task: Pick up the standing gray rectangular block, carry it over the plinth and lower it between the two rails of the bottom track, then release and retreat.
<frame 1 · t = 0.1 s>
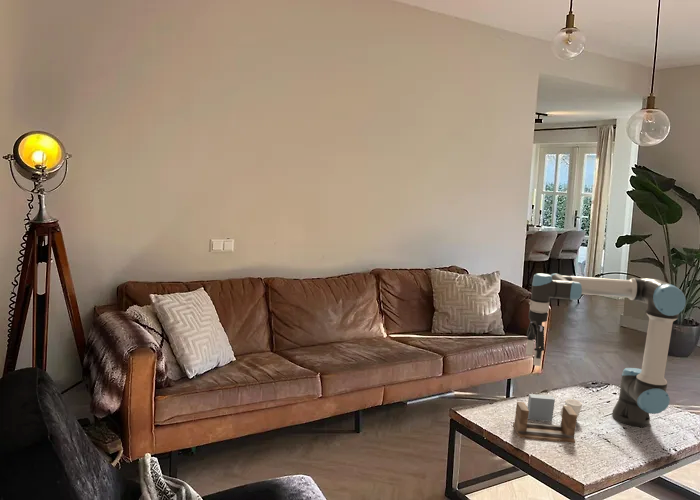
hand: (532, 359, 247), 28 cm above the table, fingers open, 13 cm apart
gray rectangular block: (539, 418, 256), on the table
cup: (568, 420, 256), on the table
cabinet base: (543, 433, 241), on the table
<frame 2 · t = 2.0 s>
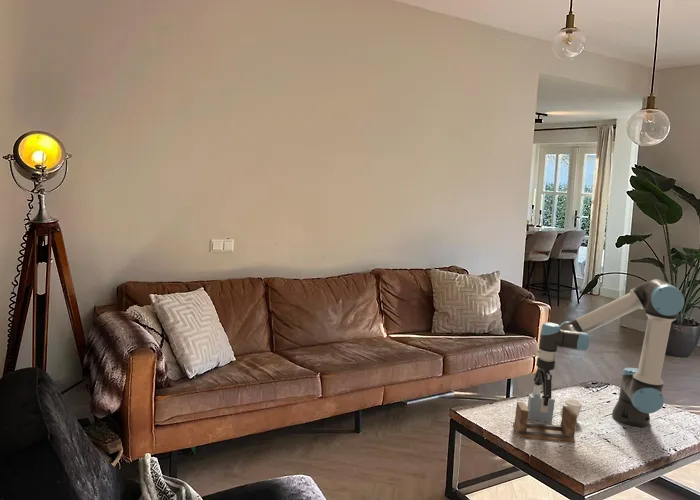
hand: (539, 405, 255), 6 cm above the table, fingers open, 13 cm apart
nothing on the table moved.
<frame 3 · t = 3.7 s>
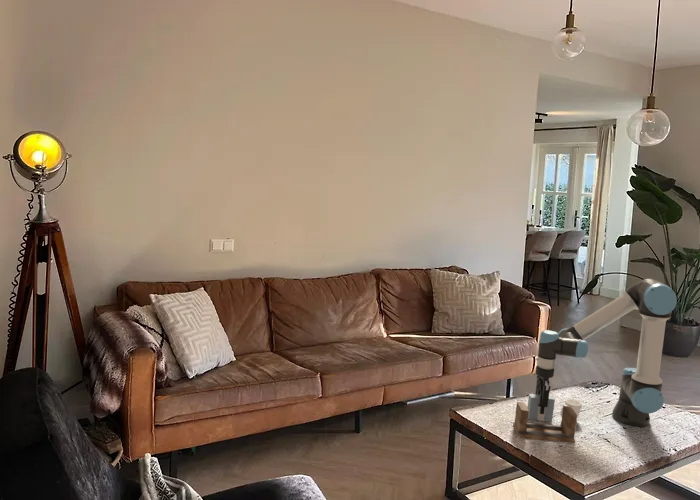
hand: (539, 417, 256), 0 cm above the table, fingers closed on gray rectangular block, 4 cm apart
gray rectangular block: (539, 418, 256), on the table, touching gripper
everything else where it was.
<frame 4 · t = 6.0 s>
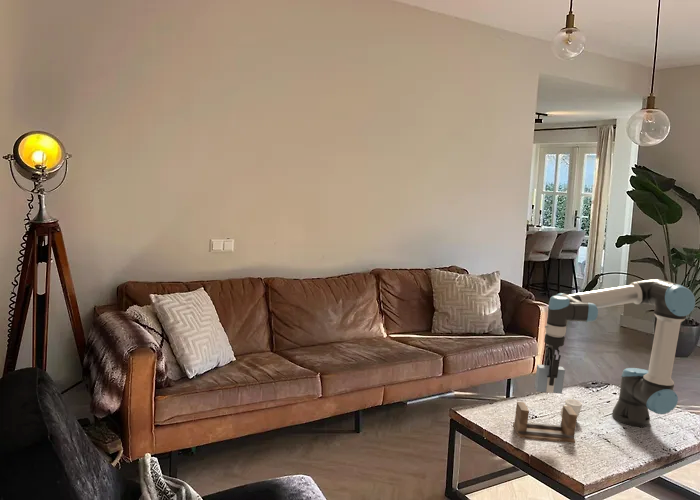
hand: (548, 389, 239), 19 cm above the table, fingers closed on gray rectangular block, 4 cm apart
gray rectangular block: (548, 390, 239), point 18 cm above the table, touching gripper
everything else where it was.
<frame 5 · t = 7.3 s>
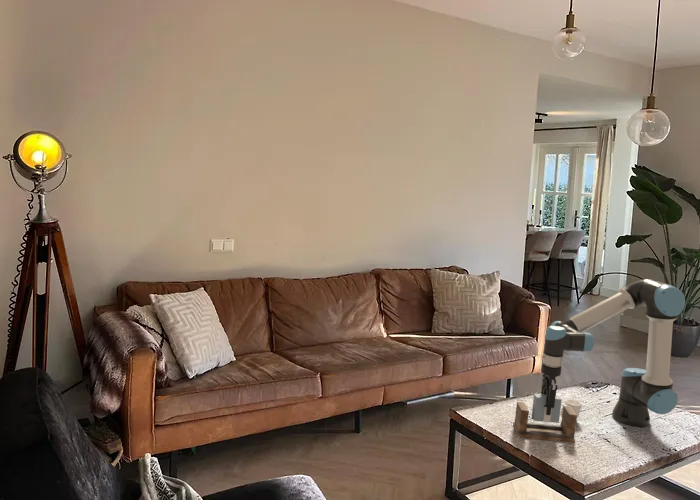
hand: (545, 418, 240), 6 cm above the table, fingers closed on gray rectangular block, 4 cm apart
gray rectangular block: (545, 419, 240), point 6 cm above the table, touching gripper
everything else where it was.
when the fingers open (4 cm above the table, at t = 8.4 s): gray rectangular block drops 2 cm, resting on cabinet base.
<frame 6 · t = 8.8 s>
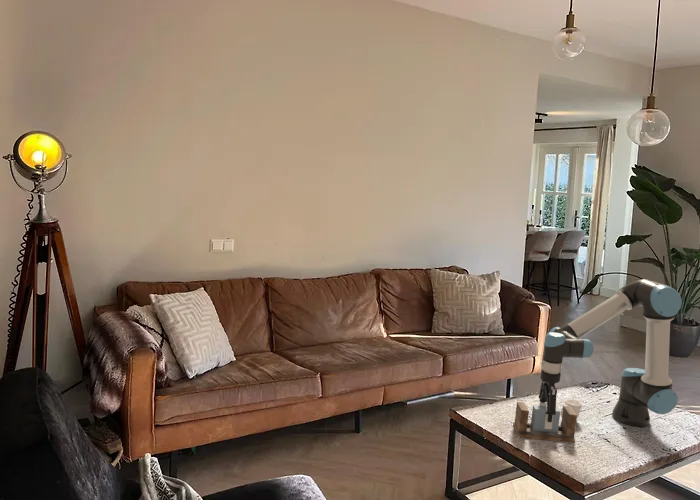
hand: (544, 423, 241), 5 cm above the table, fingers open, 9 cm apart
gray rectangular block: (543, 431, 241), point 1 cm above the table, touching cabinet base
everything else where it was.
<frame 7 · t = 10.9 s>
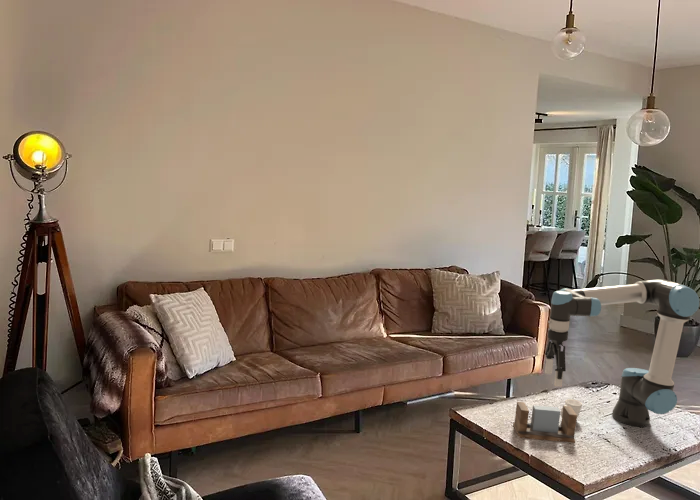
hand: (552, 379, 239), 23 cm above the table, fingers open, 13 cm apart
nothing on the table moved.
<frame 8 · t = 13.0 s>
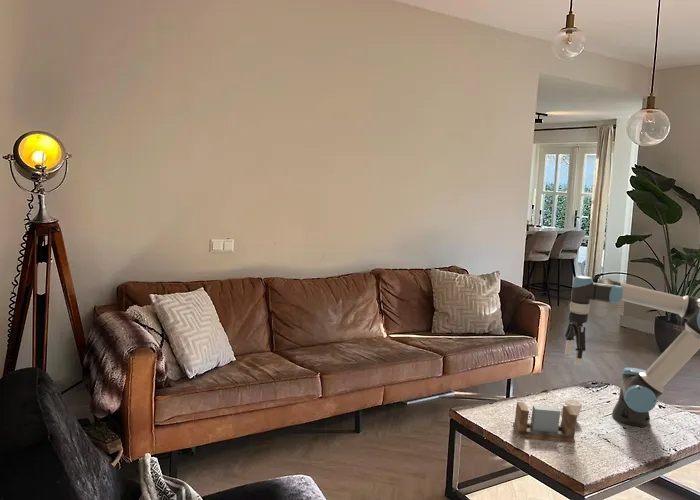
hand: (572, 359, 254), 27 cm above the table, fingers open, 13 cm apart
nothing on the table moved.
at the end: gray rectangular block inside the target area on the cabinet base (0.1 cm from its centre), point 1.0 cm above the cabinet base's base; gray rectangular block tilted 0°; the gripper is holding nothing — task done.
